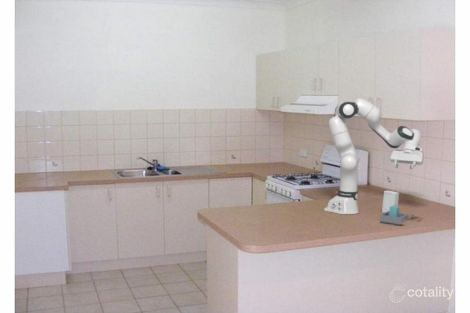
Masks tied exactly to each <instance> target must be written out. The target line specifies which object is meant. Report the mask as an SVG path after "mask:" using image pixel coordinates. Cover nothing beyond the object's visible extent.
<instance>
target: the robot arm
mask: <svg viewBox="0 0 470 313" xmlns="http://www.w3.org/2000/svg"><path fill="white" fill-rule="evenodd" d="M334 110H335V111H334V115H333V116H332V117H331V118H329V120H328V128H329V132H330V136H331V139H332V141H333V145H334V146H335V147H334V148H335V149H336V151H337V154H338V156H339V158H340V161H339V162H340V164H339V165H340V166H339V167H340V169H339V170H340V171H339V174H340V176H339V180H340V181H339V189H338V190H337V191H335V194H336V195H335V196H334V197H333V198H331V199H329V200H328V201H327V202H328V203H327V206H326V207H324V208H323V211H325V212H329V213H334V214H339V215H357V214H359V206H358V199H359V198H358V197H359V195H358V194H359V192H358V183H359V182H358V181H359V180H358V178H359V177H358V173H359V170H358V168H359V161H360V158H359V155H358V153H357V150H356V148H355V145H354V143H353V140H352V138H351V136H350V133H349V130H348V127H347V124H346V123H347V120H348V119H351V118H353V117H354V116H359V117H360V118H362V119H364V121H366V122H367V123H368V127H369V128H371V130H372V131H373V132H374V133H375V134H376V135H378V136H379V137H380V138H381V139H382V140H383V141H384V142H385V143H386V145H388V147H389V148H391V149H395V150H393V151H392V153H391V155H390V158H389V159H390V162H391V163H394V164H395V165H394V168H398V167H399V164H406V165H408V164H409V169H410V170H413V169H414V168H415V167H416V166H417V165H419V166H421V165H423V164H424V155H425V153H424V150H423V148H421V147H419V146H420V143H421V141H422V133H421V131H420V130H419V129H416V128H409V127H407V126H405V125H400V126H398V127H397V128H396V129H394V130H393V131H392V132H389V131H388V130H387V129H386V128H385V127H384V126H383V125H382V124H381V118H382V112H381V109H380V108H379V107H378V106H377V105H376V104H373V103H372V102H370V101H369V100H367V99H366V98H365V99H364V98H363V97H358V98H356V99H355V100H354V101H343V102H340V103H339V104H337V105H336V107H335V109H334ZM402 144H403V147H402V150H401V149H398V148H399V147H401V146H402Z"/></svg>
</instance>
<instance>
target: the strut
mask: <svg viewBox="0 0 470 313" xmlns="http://www.w3.org/2000/svg"><path fill="white" fill-rule="evenodd" d="M399 213H400V206H399V205H398V206H390V210H389V216H393V217H399Z"/></svg>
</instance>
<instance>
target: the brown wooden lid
mask: <svg viewBox="0 0 470 313" xmlns="http://www.w3.org/2000/svg"><path fill="white" fill-rule="evenodd" d="M423 220H425V217H422V216H415V213H414V212H411V213H410V215H409V214H408V220H407V221H412V222H421V221H423Z"/></svg>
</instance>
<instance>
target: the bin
mask: <svg viewBox="0 0 470 313" xmlns="http://www.w3.org/2000/svg"><path fill="white" fill-rule="evenodd" d="M408 215H409V214H408V213H404V212H403V213H402V212H399V217H393V216H389V211H387V212H383V213H381V214H380V216H379V224H383V225H390V226H394V227H402V226H403V223H405V222H407V221H409V220H408Z"/></svg>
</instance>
